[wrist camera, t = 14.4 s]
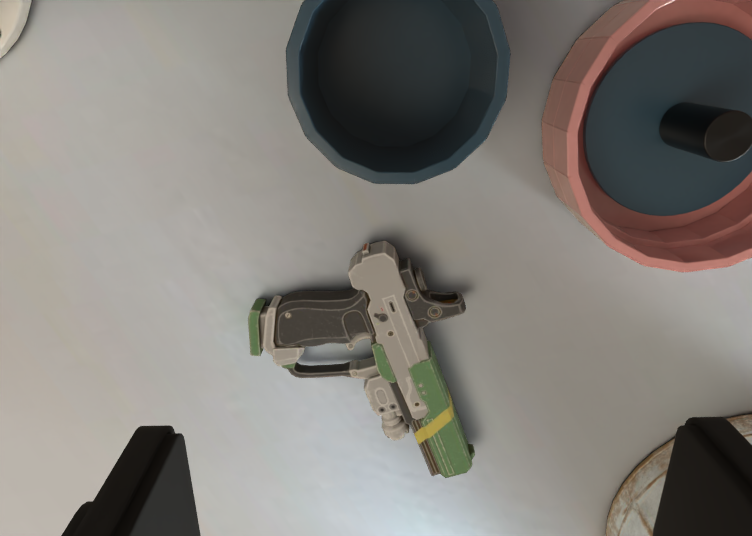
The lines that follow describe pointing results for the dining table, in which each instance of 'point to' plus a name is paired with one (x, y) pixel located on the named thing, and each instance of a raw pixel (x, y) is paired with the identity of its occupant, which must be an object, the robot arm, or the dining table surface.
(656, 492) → the milk can
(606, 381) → the dining table surface
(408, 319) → the futuristic handgun
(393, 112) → the tin
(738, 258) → the bowl
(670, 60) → the lid
